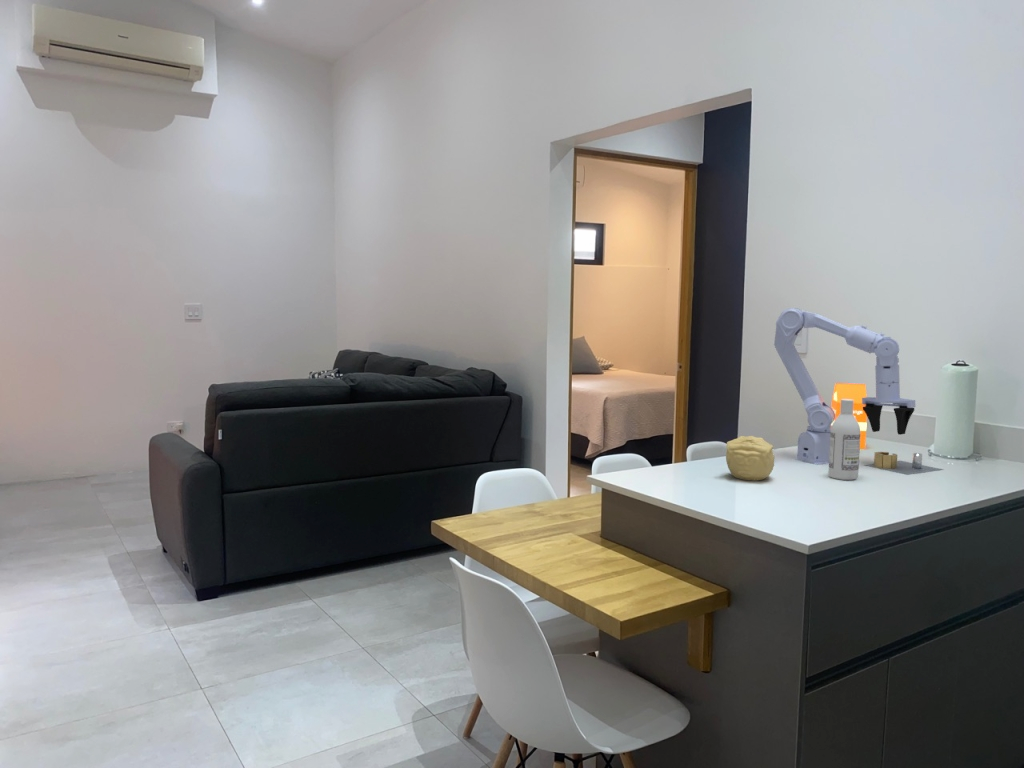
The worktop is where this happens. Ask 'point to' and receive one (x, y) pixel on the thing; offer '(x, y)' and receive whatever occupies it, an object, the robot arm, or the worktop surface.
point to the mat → (908, 468)
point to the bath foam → (844, 444)
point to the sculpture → (750, 458)
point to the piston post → (917, 461)
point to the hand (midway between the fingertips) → (888, 432)
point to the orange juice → (856, 394)
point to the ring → (885, 460)
